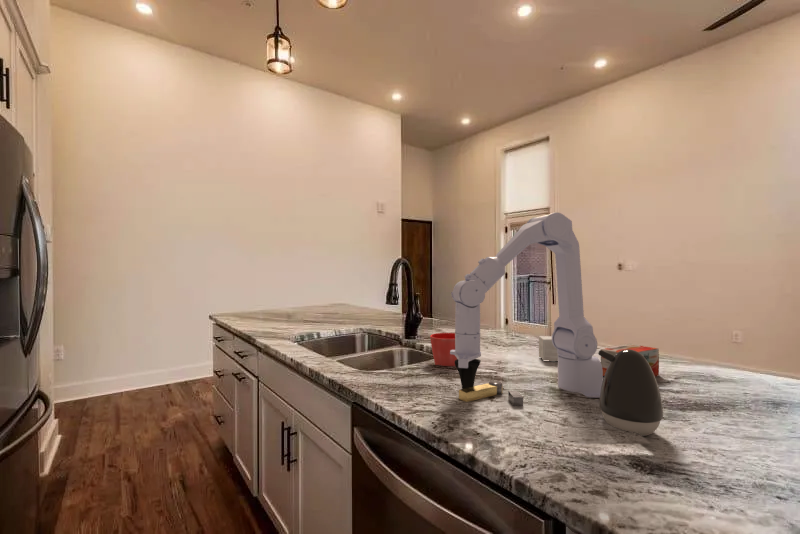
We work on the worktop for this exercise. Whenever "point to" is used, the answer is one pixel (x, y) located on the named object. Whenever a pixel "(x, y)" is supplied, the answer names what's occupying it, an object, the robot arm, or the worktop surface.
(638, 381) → the pump dispenser
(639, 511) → the worktop surface
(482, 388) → the latch arm
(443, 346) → the flower pot
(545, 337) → the product box
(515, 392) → the block
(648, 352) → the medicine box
